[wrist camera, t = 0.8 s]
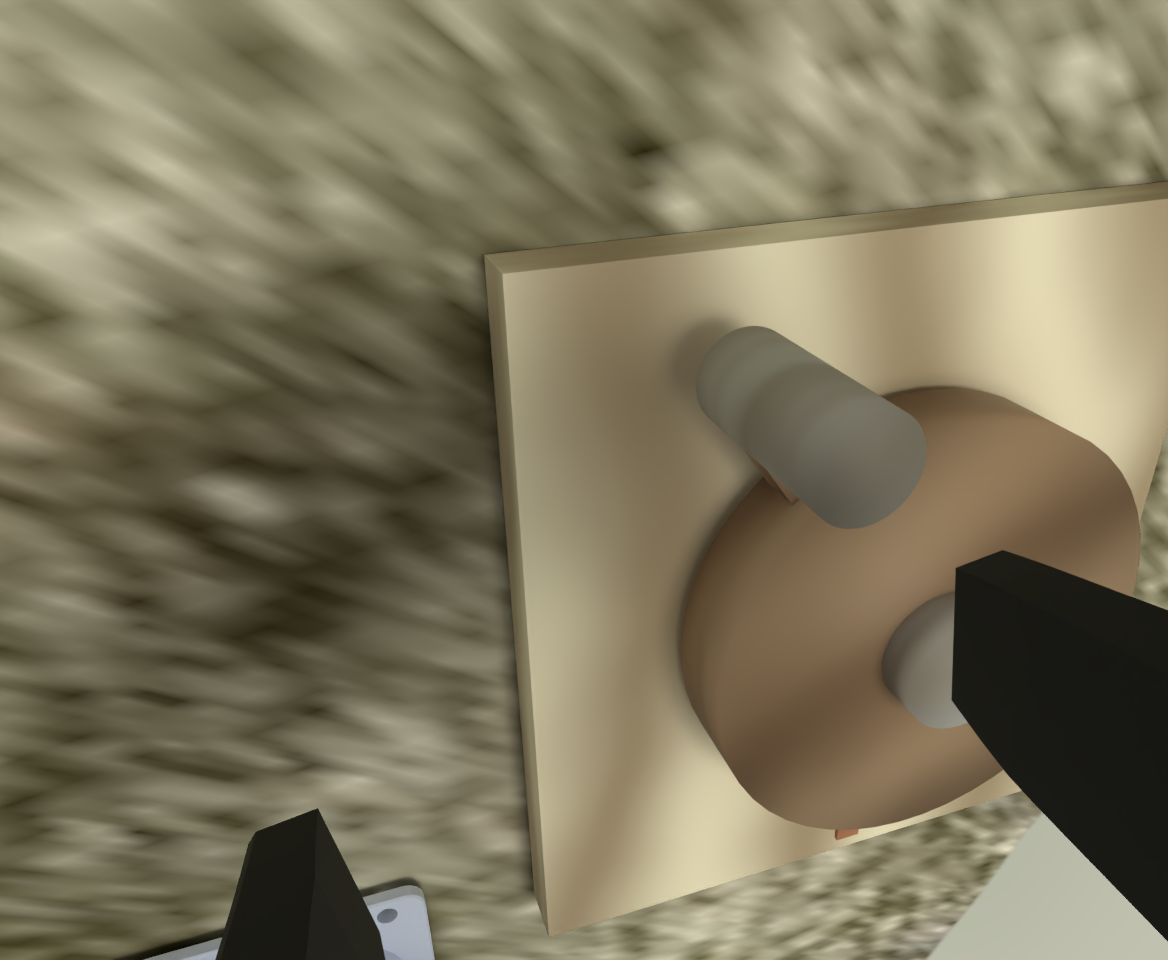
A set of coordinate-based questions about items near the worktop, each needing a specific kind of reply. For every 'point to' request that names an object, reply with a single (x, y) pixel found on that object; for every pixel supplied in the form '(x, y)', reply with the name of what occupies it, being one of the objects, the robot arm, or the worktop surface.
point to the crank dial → (871, 575)
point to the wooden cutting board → (756, 476)
